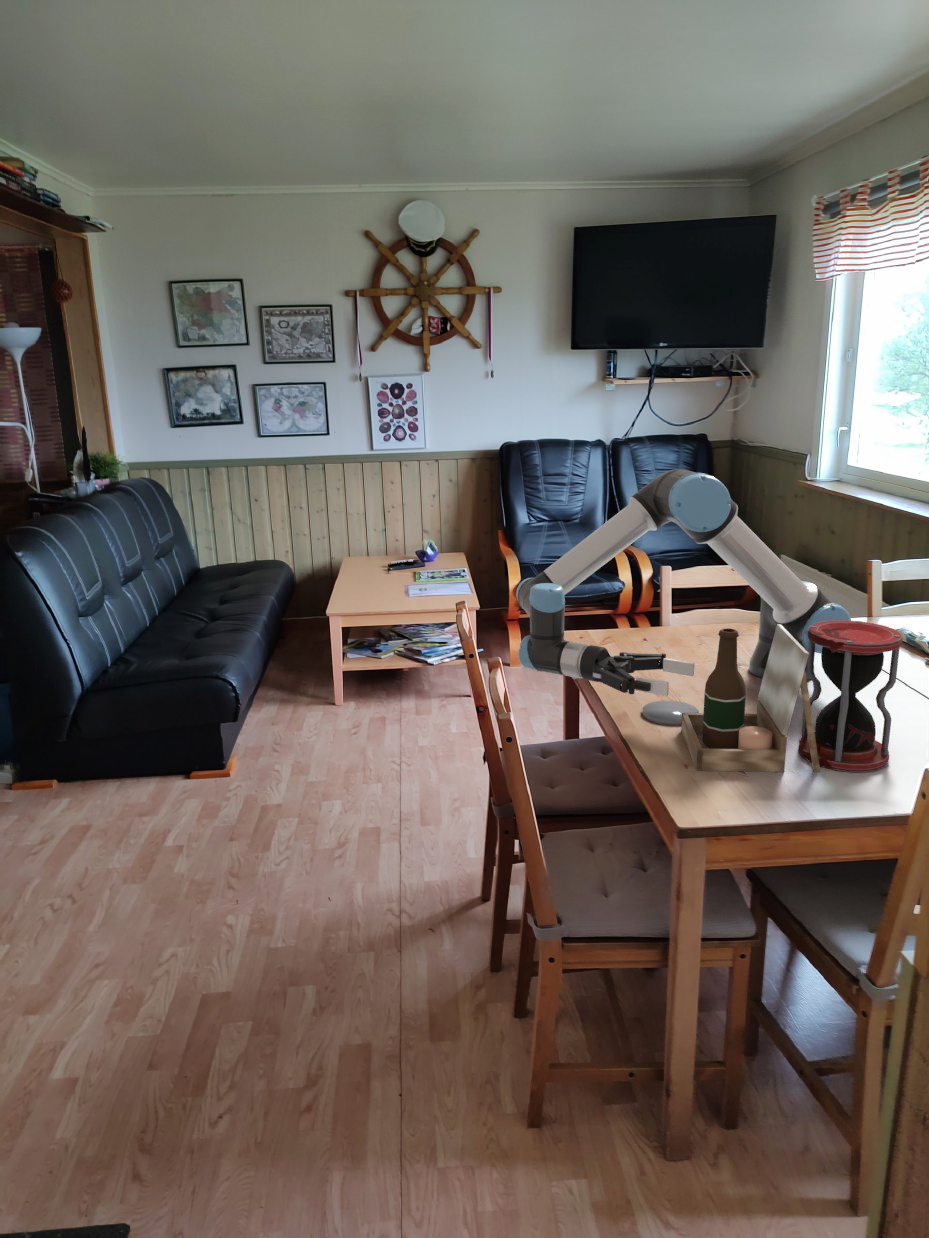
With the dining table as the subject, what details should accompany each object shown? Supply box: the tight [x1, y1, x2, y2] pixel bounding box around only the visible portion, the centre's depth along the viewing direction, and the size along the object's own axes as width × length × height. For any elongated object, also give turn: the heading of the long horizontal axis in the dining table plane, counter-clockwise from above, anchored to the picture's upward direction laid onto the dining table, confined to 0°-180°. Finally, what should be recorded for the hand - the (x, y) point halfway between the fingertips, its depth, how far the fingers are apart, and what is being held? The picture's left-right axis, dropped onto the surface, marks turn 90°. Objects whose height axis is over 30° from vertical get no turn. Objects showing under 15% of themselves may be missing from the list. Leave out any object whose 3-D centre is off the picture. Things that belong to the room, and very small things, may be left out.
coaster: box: [642, 700, 700, 726], centre depth 187 cm, size 12×12×1 cm
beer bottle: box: [702, 628, 747, 749], centre depth 168 cm, size 8×8×24 cm
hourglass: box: [797, 620, 903, 773], centre depth 162 cm, size 16×16×25 cm
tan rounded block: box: [738, 726, 772, 749], centre depth 163 cm, size 6×6×6 cm
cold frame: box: [680, 624, 821, 773], centre depth 165 cm, size 23×19×24 cm
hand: (681, 679), depth 171 cm, fingers open, 13 cm apart
